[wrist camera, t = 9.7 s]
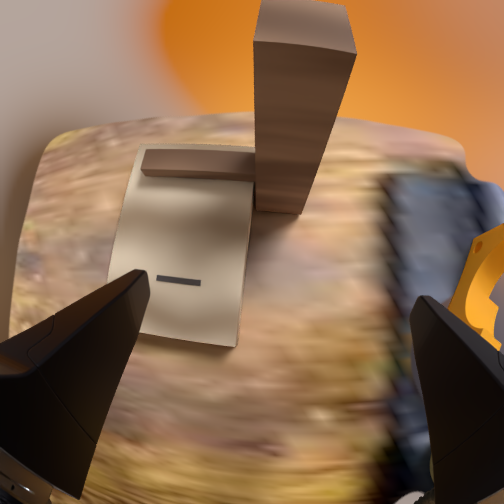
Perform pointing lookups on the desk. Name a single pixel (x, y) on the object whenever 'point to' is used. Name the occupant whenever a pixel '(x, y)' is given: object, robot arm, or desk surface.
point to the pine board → (187, 249)
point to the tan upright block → (281, 106)
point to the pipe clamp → (480, 284)
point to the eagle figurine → (427, 498)
